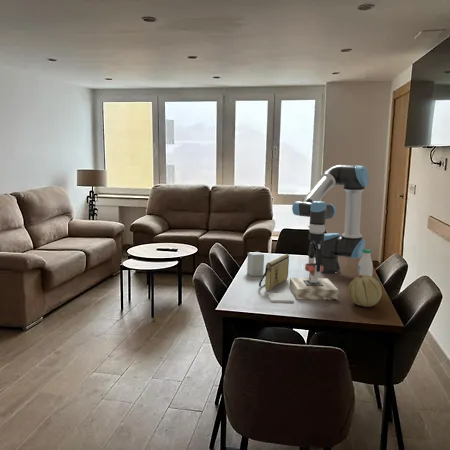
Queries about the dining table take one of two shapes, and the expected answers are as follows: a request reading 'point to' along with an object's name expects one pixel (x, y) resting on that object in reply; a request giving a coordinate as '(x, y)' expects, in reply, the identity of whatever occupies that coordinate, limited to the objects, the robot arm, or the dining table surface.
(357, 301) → the cantaloupe
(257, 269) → the supplement box
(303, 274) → the dining table surface
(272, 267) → the clutch purse
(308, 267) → the screw pin
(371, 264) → the milk bottle
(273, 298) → the rubber mat
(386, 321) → the dining table surface
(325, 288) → the block
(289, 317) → the dining table surface
